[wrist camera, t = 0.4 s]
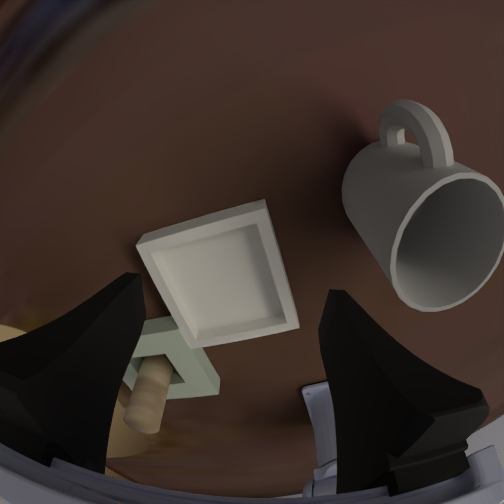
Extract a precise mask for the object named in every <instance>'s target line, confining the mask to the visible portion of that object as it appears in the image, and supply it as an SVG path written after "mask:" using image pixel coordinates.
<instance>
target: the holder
mask: <svg viewBox="0 0 504 504" xmlns="http://www.w3.org/2000/svg"><path fill="white" fill-rule="evenodd" d="M159 354H166V355H167V357H168V358H169V360H170V361H171V363H172V364H173V366H174V367H175V368H176V369H173V372H172V377H171V381H170V385H169V389H168V393H167V398H166V399H177V398H189V397H199V396H209V395H217V394H219V387H220V377H219V376H218V374H217V372H216V371H215V369H214V367H213V366H212V364H211V362H210V361H209V359H208V357H207V355H206V354H205V352H204V350H203V348H202V347H201V348H195V349H191V348H190V346H189V344H188V343H187V341H186V339H185V337H184V336H183V334H182V332H181V331H180V329H179V327H178V325H177V324H176V322H175V320H174V318H173V317H172V315H171V316H166V317H161V318H156V319H150V320H145V322H144V325H143V329H142V332H141V336H140V339H139V341H138V343H137V346H136V348H135V351H134V353H133V355H132V358H131V360H130V363H129V365H128V367H127V370H126V372H125V375H124V377H123V381H124V382H125V383H126V384H127V385H128V387H129V388H130V389H131V390H133V387H134V384H135V381H136V378H137V375H138V372H139V369H140V366H141V363H142V361H143V358H142V357H143V356H151V355H159Z"/></svg>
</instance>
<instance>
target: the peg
mask: <svg viewBox="0 0 504 504" xmlns="http://www.w3.org/2000/svg"><path fill="white" fill-rule="evenodd" d="M173 368H174V366H173V364H172V363H171V361H170V360H169V358H168V357H167V355H166V354H159V355H151V356H144V358H143V361H142V363H141V366H140V369H139V372H138V375H137V378H136V381H135V384H134V387H133V390H132V394H131V397H130V400H129V403H128V406H127V409H126V413H125V416H124V422H125V423H126V424H127V425H128V426H129V427H131V428H133V429H134V430H136V431H139V432H142V433H148V434H153V433H157V432H158V431H159V429H160V424H161V420H162V415H163V411H164V406H165V402H166V398H167V393H168V389H169V385H170V381H171V377H172V372H173Z"/></svg>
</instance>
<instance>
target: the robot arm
mask: <svg viewBox="0 0 504 504" xmlns="http://www.w3.org/2000/svg"><path fill="white" fill-rule="evenodd" d="M145 318H146V310H145V304H144V297H143V289H142V281H141V274H137V273H128V272H126V273H124V274H123V275H121V276H120V277H118V278H117V279H116V280H114V281H113V282H111V283H110V284H109V285H107V286H106V287H105V288H103V289H102V290H100V291H99V292H98V293H96V294H95V295H93V296H92V297H91V298H89V299H88V300H86V301H85V302H83V303H82V304H80V305H79V306H77V307H76V308H74V309H73V310H71V311H70V312H68V313H66V314H65V315H63V316H61V317H59V318H58V319H56V320H54V321H52V322H50V323H48V324H46V325H44V326H42V327H39V328H37V329H35V330H33V331H31V332H28V333H26V334H23V335H21V336H18V337H16V338H12V339H9V340H6V341H3V342H0V499H1V500H3V501H4V502H6V503H8V504H119V503H118V502H121V503H124V504H501V503H502V502H504V468H503V466H502V463H501V461H500V458H499V455H498V453H497V450H496V448H495V445H491V446H489V447H486V448H484V449H482V450H479V451H477V452H475V453H473V454H471V455H469V456H468V457H466V454H465V452H464V451H465V450H466V449H467V448H468V444H467V441H466V439H467V438H468V437H469V436H470V435H471V434H472V433H473V432H474V431H475V430H476V429H477V428H478V427H479V426H480V425H481V424H482V423H483V422H484V421H485V420H486V418H487V416H488V414H489V411H490V407H489V405H488V403H487V401H486V399H485V397H484V395H483V393H482V391H481V390H480V389H478V388H476V387H473V386H471V385H468V384H466V383H463V382H461V381H458V380H456V379H454V378H452V377H450V376H448V375H446V374H445V373H443V372H441V371H439V370H437V369H436V368H434V367H432V366H431V365H429V364H427V363H426V362H424V361H423V360H421V359H420V358H418V357H417V356H415V355H414V354H413V353H411V352H410V351H409V350H407V349H406V348H405V347H403V346H402V345H401V344H400V343H398V342H397V341H396V340H395V339H394V338H393V337H391V336H390V335H389V334H388V333H387V332H386V331H385V330H384V329H383V328H382V327H381V326H380V325H378V324H377V323H376V322H375V321H374V320H373V319H372V318H371V317H370V316H369V315H368V314H367V313H366V312H365V310H364V309H363V308H362V307H361V306H360V305H359V304H358V303H357V302H356V301H355V300H354V299H353V298H352V297H351V296H350V295H349V294H348V293H347V292H346V291H345V290H331V289H329V293H328V297H327V300H326V304H325V308H324V311H323V315H322V318H321V321H320V325H319V328H318V333H319V343H320V351H321V356H322V360H323V364H324V368H325V372H326V377H327V382H323V383H318V384H314V385H309V386H305V387H303V388H302V394H303V397H304V400H305V403H306V406H307V409H308V413H309V416H310V419H311V422H312V425H313V429H314V437H315V445H316V453H317V461H318V469H314V478H311V479H309V480H308V482H307V484H306V485H305V487H304V489H303V496H302V497H299V498H235V497H220V496H209V495H200V494H192V493H185V492H178V491H172V490H166V489H161V488H156V487H151V486H146V485H141V484H137V483H133V482H129V481H124V480H121V479H117V478H114V477H110V476H107V475H105V464H106V454H107V446H108V439H109V433H110V427H111V422H112V417H113V412H114V407H115V404H116V400H117V396H118V392H119V388H120V385H121V383H122V380H123V377H124V375H125V372H126V370H127V367H128V365H129V363H130V360H131V358H132V355H133V353H134V351H135V348H136V346H137V343H138V341H139V339H140V336H141V332H142V329H143V325H144V322H145ZM113 500H114V501H113ZM115 501H117V502H115Z"/></svg>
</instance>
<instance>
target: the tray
mask: <svg viewBox="0 0 504 504" xmlns="http://www.w3.org/2000/svg"><path fill="white" fill-rule="evenodd" d="M136 248H137V250H138V252H139V254H140V256H141V258H142V260H143V262H144V264H145V266H146V268H147V270H148V272H149V274H150V276H151V278H152V279H153V281H154V283H155V285H156V287H157V289H158V291H159V293H160V295H161V296H162V298H163V300H164V302H165V304H166V306H167V308H168V309H169V311H170V313H171V315H172V317H173V318H174V320H175V322H176V324H177V325H178V327H179V329H180V331H181V332H182V334H183V336H184V337H185V339H186V341H187V343H188V344H189V346H190V348H191V349H195V348H201V347H207V346H213V345H219V344H224V343H230V342H235V341H240V340H246V339H251V338H256V337H261V336H265V335H270V334H275V333H279V332H284V331H288V330H293V329H297V328H299V322H298V316H297V311H296V307H295V304H294V300H293V296H292V293H291V289H290V285H289V282H288V278H287V274H286V271H285V267H284V264H283V260H282V256H281V253H280V249H279V246H278V242H277V239H276V235H275V232H274V228H273V225H272V221H271V218H270V214H269V211H268V208H267V204H266V201H265V199H261V200H258V201H254V202H250V203H247V204H243V205H239V206H236V207H232V208H229V209H225V210H222V211H218V212H215V213H211V214H208V215H204V216H201V217H198V218H194V219H191V220H187V221H184V222H181V223H178V224H174V225H171V226H168V227H164V228H161V229H158V230H155V231H152V232H149V233H145V234H143V236H142V237H141V239H140V240H139V241H138V243H137V244H136Z"/></svg>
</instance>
